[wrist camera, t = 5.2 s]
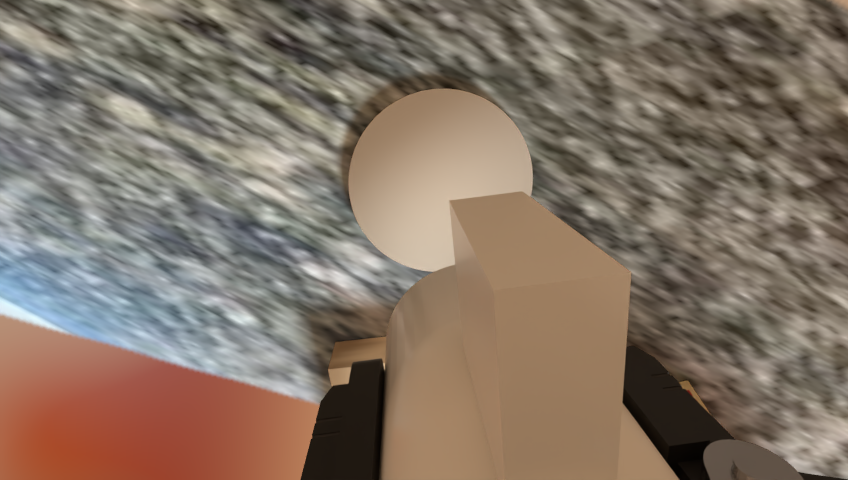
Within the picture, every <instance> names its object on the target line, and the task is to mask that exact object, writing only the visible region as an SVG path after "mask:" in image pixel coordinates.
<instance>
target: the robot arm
mask: <svg viewBox="0 0 848 480" xmlns="http://www.w3.org/2000/svg"><path fill="white" fill-rule="evenodd" d="M384 373H385V370H384V365H383V361H382V359H381V358H379V359H372V360H364V361H357V362H353V363H352V366H351V372H350V377H349V383H348V384H341V385H334V386H332V388H331V389H330V390H329V392H328V393H327V394H326V396H325V397H324V398H323V400H322V401H321V403H320V407H319V411H318V415H317V418H316V424H315V426H314V430H313V434H312V439H311V442H310V446H309V449H308V453H307V457H306V461H305V465H304V468H303V472H302V476H301V480H379V465H380V446H381V428H382V410H383V391H384ZM622 402H623V404H624V405H625V407H626V408H627V409H628V411H629V412H630V413H631V415H632V416H633V417H634V419H635V420H636V421H637V423H638V424H639V426H640V427H641V428H642V430H643V431H644V432H645V434H646V435H647V436H648V438H649V439H650V440H651V442H652V443H653V445H654V446H655V447H656V449H657V450H658V451H659V453H660V454H661V455H662V457H663V458H664V459H665V461H666V462H667V464H668V465H669V466H670V468H671V469H672V470H673V472H674V473H675V474H676V476H677V477H678V478H679V480H848V479H841V478H833V477H826V476H819V475H812V474H805V473H800V472H797V471H796V470H795V468H794V467H792V466H791V465H790V464H789V463H788V462H786V461H785V460H784V459H782V458H781V457H779V456H778V455H776V454H774V453H773V452H771V451H769V450H767V449H765V448H763V447H760V446H758V445H755V444H752V443H749V442H745V441H740V440H735V439H734V438H733V437H732V436H731V435H730V434H729V433H728V432H727V431H726V430H725V429H724V428H723V427H722V426H721V425H720V424H719V423H718V422H717V421H716V420H715V419H714V418H713V417H712V416H711V415H710V414H709V413H708V412H707V411H706V410H705V409H704V408H703V407H702V406H701V405H700V403H699V402H698V401H697V400H696V399H695V398H694V397H693V396H692V395H691V394H690V393H689V392H688V391H687V390H686V389H683V388H682V385H681V384H680V383H679V382H678V381H677V380H676V379H675V378H674V377H673V376H670V375H669V372H668V371H667V370H666V369H665V368H664V367H663V366H662V365H661V364H660V363H659V362H658V361H657V360H656V359H655V358H654V357H652V356H651V355H649V354H647V353H645V352H644V351H642V350H640V349H638V348H636V347H635V346H628V347H626V357H625V372H624V386H623V401H622Z"/></svg>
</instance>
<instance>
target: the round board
mask: <svg viewBox="0 0 848 480" xmlns="http://www.w3.org/2000/svg"><path fill="white" fill-rule="evenodd" d="M532 184H533V172H532V163H531V158H530V153H529V151H528V148H527V145H526V142H525V140H524V138H523V136H522V134H521V132H520V131H519V129H518V128H517V126H516V125H515V124H514V122H513V121H512V120H511V119H510V118H509V117H508V116H507V115H506V113H505V112H503V111H502V110H501V109H500V108H498V107H497V106H496V105H495V104H493V103H491V102H490V101H488V100H486V99H485V98H482V97H480V96H478V95H475V94H473V93H469V92H466V91H462V90H455V89H430V90H424V91H420V92H416V93H413V94H410V95H407V96H405V97H403V98H401V99H399V100H397V101H395V102H394V103H392V104H391V105H389V106H388V107H386V108H385V109H384V110H383V111H382V112H380V113H379V114H378V115H377V116H376V117H375V118H374V119H373V120H372V121H371V123H370V124H369V125H368V126H367V128H366V129H365V131H364V132H363V134H362V135H361V137H360V139H359V141H358V143H357V145H356V147H355V150H354V153H353V156H352V159H351V164H350V169H349V182H348V186H349V197H350V201H351V206H352V209H353V212H354V215H355V217H356V220H357V222H358V224H359V225H360V227H361V229H362V231H363V232H364V234H365V235H366V236H367V238H368V239H369V240H370V241H371V242H372V243H373V245H374V246H375V247H376V248H378V249H379V250H380V251H381V252H382V253H384V254H385V255H386V256H388V257H389V258H391V259H393V260H394V261H396V262H398V263H400V264H402V265H405V266H408V267H411V268H414V269H418V270H423V271H432V272H435V271H437V270H439V269H442V268H445V267H448V266H451V265H455V257H454V247H453V236H452V226H451V216H450V205H449V200H457V199H465V198H473V197H481V196H489V195H496V194H504V193H512V192H520V191H523V192H524V193H526V194H527V195H528V196H530V197H531V193H532Z"/></svg>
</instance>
